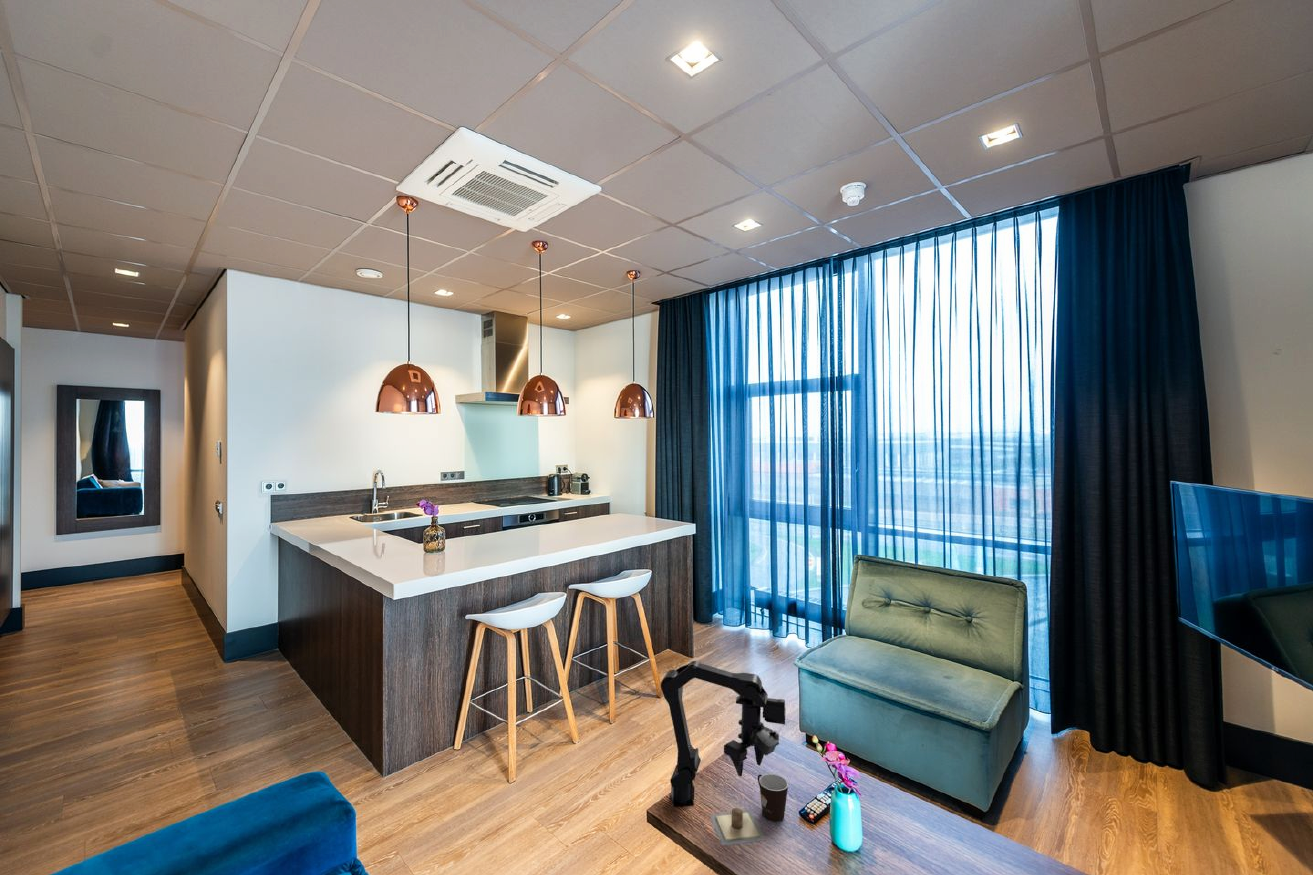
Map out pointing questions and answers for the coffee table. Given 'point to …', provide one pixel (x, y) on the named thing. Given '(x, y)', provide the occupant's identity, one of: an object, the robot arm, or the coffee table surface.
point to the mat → (724, 842)
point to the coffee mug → (773, 796)
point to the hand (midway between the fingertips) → (749, 770)
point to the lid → (737, 825)
